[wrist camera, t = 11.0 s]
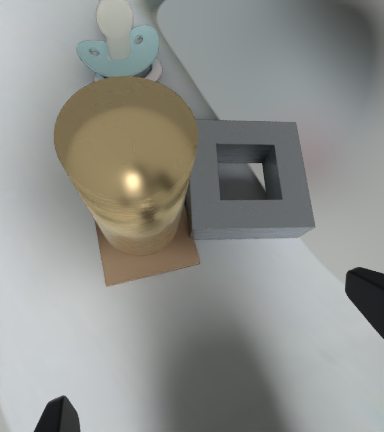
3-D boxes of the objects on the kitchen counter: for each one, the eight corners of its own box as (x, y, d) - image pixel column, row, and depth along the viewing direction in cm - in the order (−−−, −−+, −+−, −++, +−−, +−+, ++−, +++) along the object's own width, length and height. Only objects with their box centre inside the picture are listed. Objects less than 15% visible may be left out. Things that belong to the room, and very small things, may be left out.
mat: (199, 263, 23) (200, 262, 23) (107, 286, 22) (106, 285, 22) (177, 182, 25) (177, 180, 25) (92, 199, 24) (90, 197, 24)
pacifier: (174, 84, 29) (148, 38, 30) (178, 26, 23) (146, -29, 24) (100, 108, 27) (76, 58, 29) (84, 52, 21) (55, -9, 23)
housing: (297, 237, 25) (315, 227, 22) (188, 239, 24) (192, 229, 21) (282, 142, 28) (296, 122, 25) (184, 140, 27) (187, 119, 24)
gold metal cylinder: (189, 240, 23) (225, 154, 11) (130, 277, 22) (99, 225, 10) (153, 187, 24) (151, 58, 12) (94, 220, 23) (28, 109, 11)
